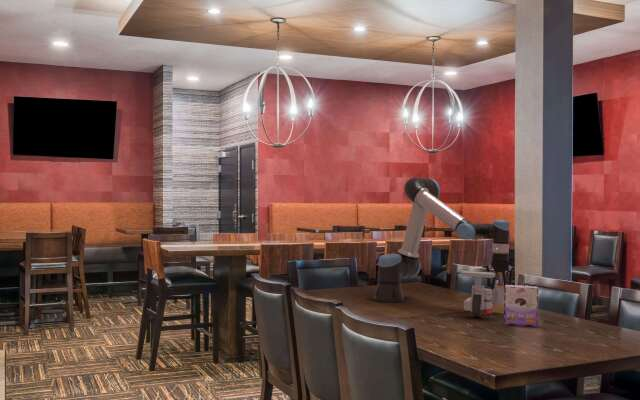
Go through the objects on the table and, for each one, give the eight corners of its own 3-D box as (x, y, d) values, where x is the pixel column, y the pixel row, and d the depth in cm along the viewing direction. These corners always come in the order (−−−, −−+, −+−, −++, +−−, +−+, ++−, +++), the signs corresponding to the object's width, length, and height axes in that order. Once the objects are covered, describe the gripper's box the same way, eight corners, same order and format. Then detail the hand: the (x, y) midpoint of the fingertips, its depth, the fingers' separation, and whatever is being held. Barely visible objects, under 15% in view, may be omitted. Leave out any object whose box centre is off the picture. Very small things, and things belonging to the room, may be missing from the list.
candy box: (537, 325, 293) (539, 286, 293) (537, 327, 287) (538, 287, 287) (504, 322, 297) (505, 284, 297) (503, 324, 292) (504, 285, 292)
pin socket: (487, 312, 325) (487, 305, 325) (490, 309, 333) (490, 303, 333) (506, 313, 321) (507, 307, 321) (509, 311, 329) (509, 305, 329)
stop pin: (494, 311, 326) (494, 286, 326) (495, 310, 329) (496, 285, 329) (501, 312, 325) (502, 287, 325) (503, 311, 328) (503, 286, 328)
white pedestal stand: (459, 317, 307) (460, 272, 307) (463, 313, 317) (465, 270, 317) (491, 320, 301) (492, 274, 301) (494, 316, 311) (496, 272, 311)
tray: (484, 312, 324) (485, 303, 324) (463, 310, 328) (463, 301, 328) (490, 307, 339) (490, 299, 339) (470, 306, 343) (470, 297, 343)
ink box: (492, 314, 318) (493, 288, 318) (485, 315, 314) (486, 289, 314) (477, 312, 324) (478, 286, 324) (470, 312, 321) (471, 287, 321)
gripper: (481, 252, 327) (479, 301, 327) (517, 254, 320) (515, 304, 320) (484, 251, 334) (482, 299, 334) (519, 253, 327) (518, 302, 327)
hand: (498, 302), depth 327 cm, fingers closed on stop pin, 4 cm apart
